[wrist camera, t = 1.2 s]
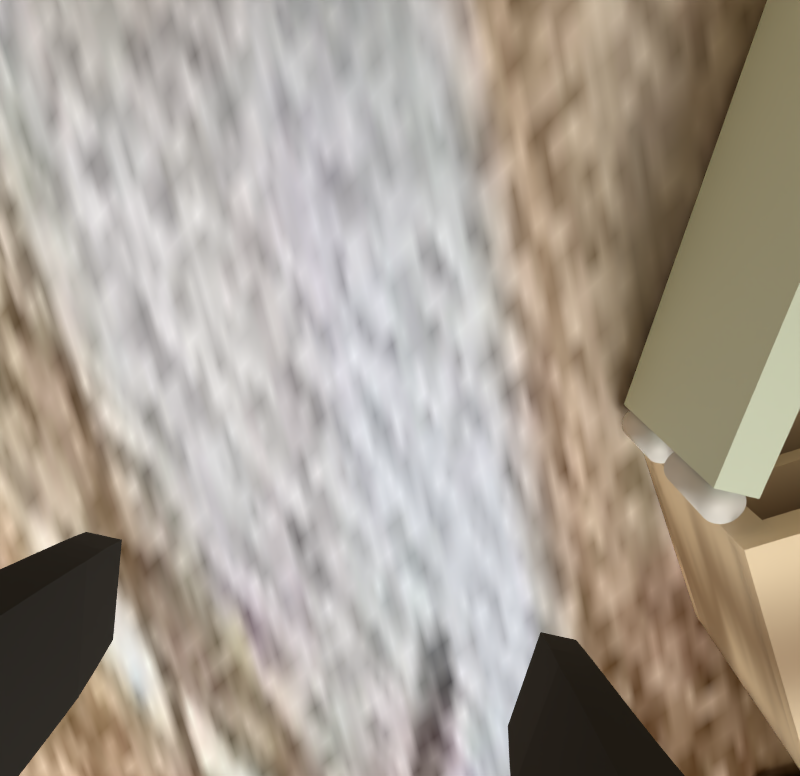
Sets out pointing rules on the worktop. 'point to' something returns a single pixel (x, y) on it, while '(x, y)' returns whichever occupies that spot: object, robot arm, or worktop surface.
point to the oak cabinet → (749, 585)
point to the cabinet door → (733, 297)
